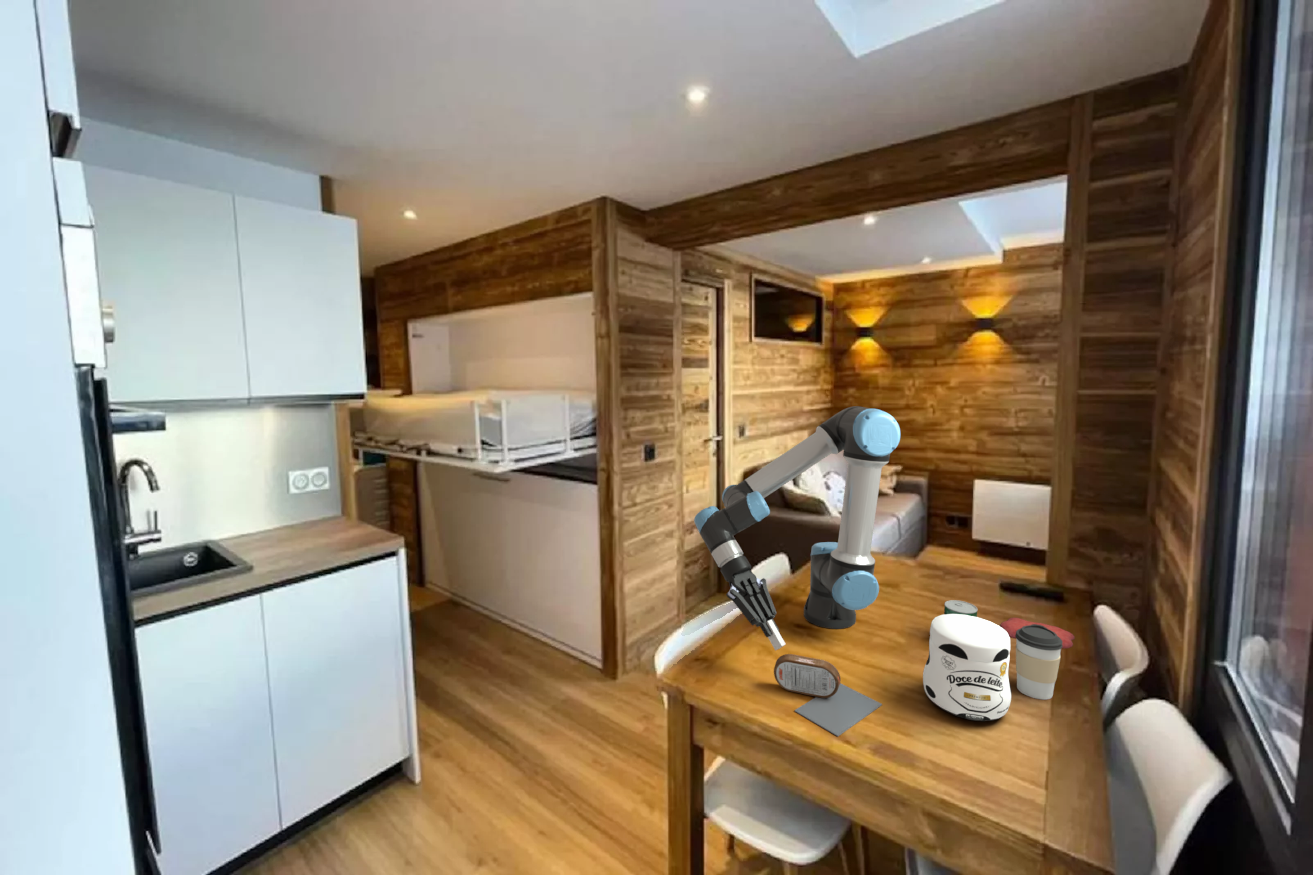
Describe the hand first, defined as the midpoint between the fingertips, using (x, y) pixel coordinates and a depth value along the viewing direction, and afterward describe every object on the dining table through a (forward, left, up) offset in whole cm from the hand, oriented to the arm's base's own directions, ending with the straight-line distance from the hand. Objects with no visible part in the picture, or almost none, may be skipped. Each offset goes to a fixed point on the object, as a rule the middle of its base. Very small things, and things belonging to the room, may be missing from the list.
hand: (780, 647), depth 135 cm
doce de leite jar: (+32, +25, -9) cm, 42 cm away
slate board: (+15, +2, -9) cm, 18 cm away
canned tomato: (+19, +52, -9) cm, 56 cm away
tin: (+7, +1, -9) cm, 11 cm away
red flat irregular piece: (+30, +75, -10) cm, 81 cm away
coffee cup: (+40, +43, -9) cm, 59 cm away
